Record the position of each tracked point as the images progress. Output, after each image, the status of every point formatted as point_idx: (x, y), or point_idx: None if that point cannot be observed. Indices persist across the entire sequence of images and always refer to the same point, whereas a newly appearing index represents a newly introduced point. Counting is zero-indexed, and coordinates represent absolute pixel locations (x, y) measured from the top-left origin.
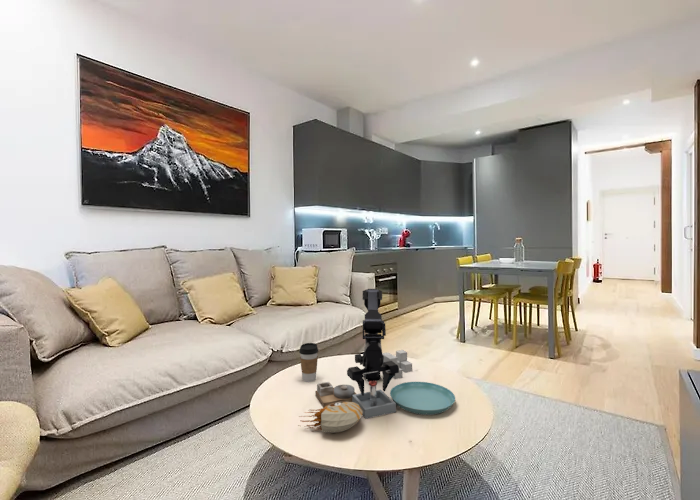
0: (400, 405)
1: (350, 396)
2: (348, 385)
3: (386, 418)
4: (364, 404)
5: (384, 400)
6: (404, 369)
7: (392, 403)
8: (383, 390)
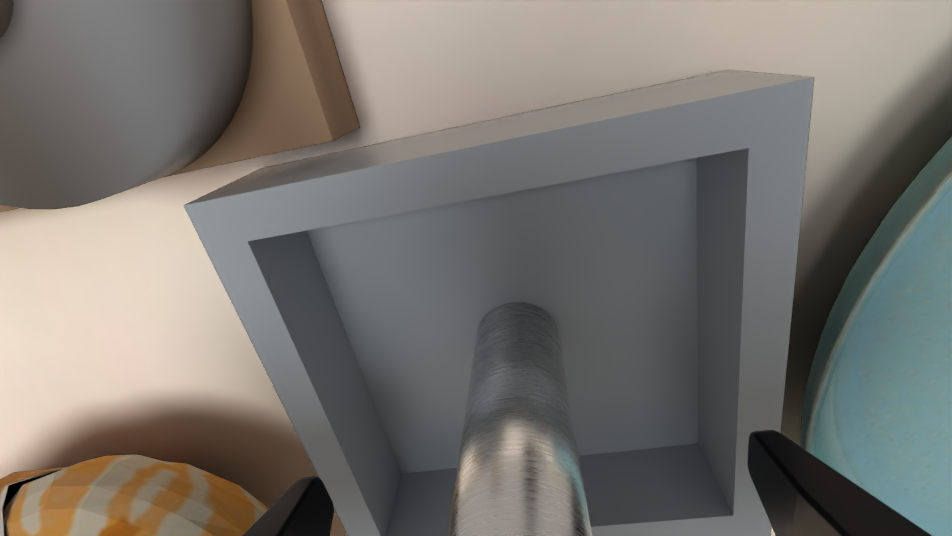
0: None
1: (175, 170)
2: None
3: None
4: (410, 291)
5: (707, 293)
6: None
7: (725, 532)
8: (753, 461)
